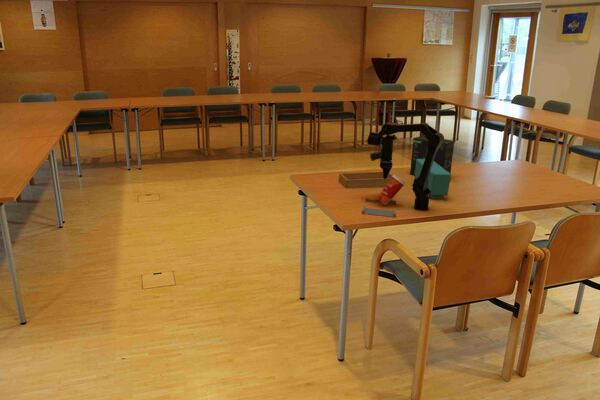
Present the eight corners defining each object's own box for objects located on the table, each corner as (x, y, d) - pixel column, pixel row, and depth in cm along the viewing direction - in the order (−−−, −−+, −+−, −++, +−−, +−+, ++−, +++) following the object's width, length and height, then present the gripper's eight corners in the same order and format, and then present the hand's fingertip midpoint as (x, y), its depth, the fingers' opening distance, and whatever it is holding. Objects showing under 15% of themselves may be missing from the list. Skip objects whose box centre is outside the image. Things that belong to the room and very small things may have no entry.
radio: (449, 200, 279) (453, 174, 274) (430, 200, 278) (433, 173, 274) (430, 183, 311) (433, 158, 307) (413, 182, 310) (415, 158, 306)
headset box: (408, 174, 328) (413, 134, 320) (418, 171, 337) (422, 132, 329) (441, 182, 314) (447, 140, 306) (450, 178, 323) (455, 137, 315)
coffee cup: (373, 196, 270) (391, 173, 269) (385, 205, 271) (403, 183, 270) (376, 198, 261) (395, 174, 261) (389, 207, 262) (407, 184, 261)
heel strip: (395, 203, 271) (396, 200, 270) (395, 204, 269) (396, 201, 269) (365, 200, 273) (365, 197, 273) (365, 201, 272) (365, 198, 272)
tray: (346, 189, 294) (347, 179, 292) (338, 181, 308) (339, 172, 306) (396, 187, 301) (397, 178, 300) (386, 180, 315) (387, 171, 313)
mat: (395, 211, 259) (396, 208, 258) (395, 217, 250) (396, 213, 250) (363, 208, 261) (363, 204, 261) (361, 214, 253) (361, 210, 252)
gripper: (371, 143, 277) (369, 171, 281) (371, 150, 259) (368, 180, 264) (392, 144, 275) (390, 172, 280) (393, 151, 258) (391, 181, 262)
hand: (384, 176), depth 271 cm, fingers open, 9 cm apart
